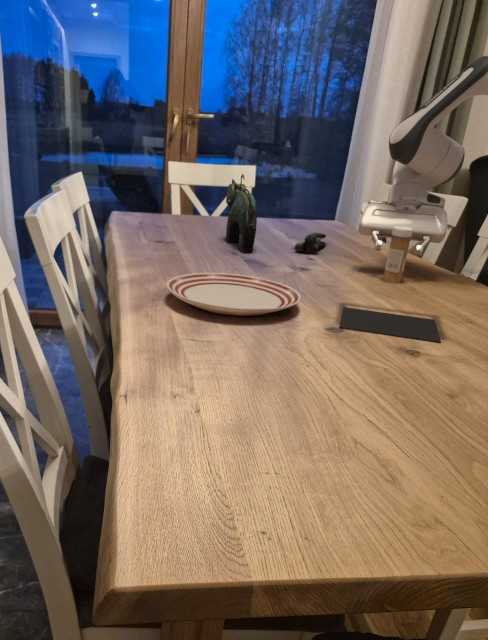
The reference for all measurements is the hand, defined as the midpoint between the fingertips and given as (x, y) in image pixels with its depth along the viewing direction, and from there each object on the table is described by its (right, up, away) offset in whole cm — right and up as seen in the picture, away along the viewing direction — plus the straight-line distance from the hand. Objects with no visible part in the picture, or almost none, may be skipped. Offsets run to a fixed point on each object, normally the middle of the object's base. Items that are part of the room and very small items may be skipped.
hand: (397, 251), depth 138 cm
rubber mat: (-11, -21, -26) cm, 35 cm away
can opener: (-13, +9, +35) cm, 38 cm away
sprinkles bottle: (-1, -7, +3) cm, 8 cm away
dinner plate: (-41, -16, -20) cm, 48 cm away
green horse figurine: (-35, +10, +33) cm, 49 cm away
